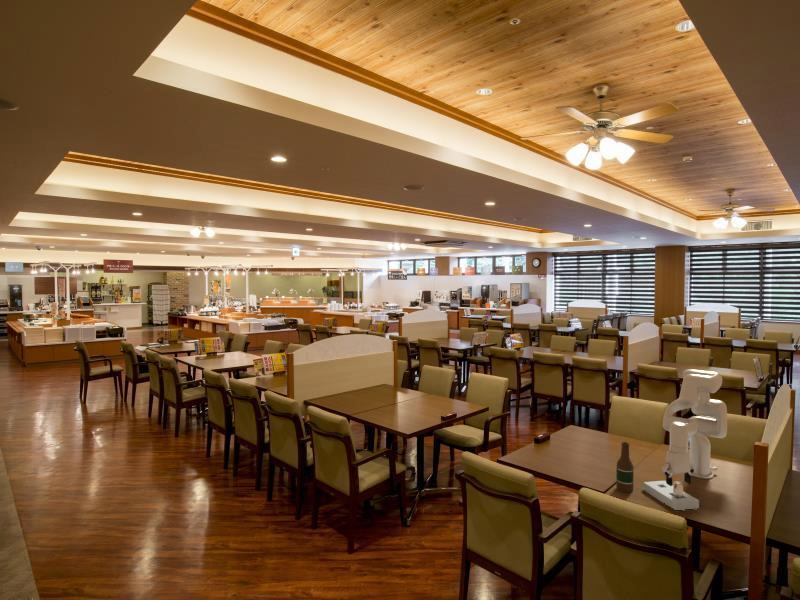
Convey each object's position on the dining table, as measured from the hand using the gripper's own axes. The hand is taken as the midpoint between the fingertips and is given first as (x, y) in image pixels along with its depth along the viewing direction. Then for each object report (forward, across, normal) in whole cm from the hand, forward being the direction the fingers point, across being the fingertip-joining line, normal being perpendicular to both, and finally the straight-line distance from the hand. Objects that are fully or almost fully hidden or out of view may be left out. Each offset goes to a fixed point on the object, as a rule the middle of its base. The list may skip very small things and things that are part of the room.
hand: (678, 483), depth 220 cm
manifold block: (+10, +1, -4) cm, 11 cm away
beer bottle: (+10, +16, -17) cm, 25 cm away
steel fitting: (+10, +1, +1) cm, 10 cm away
